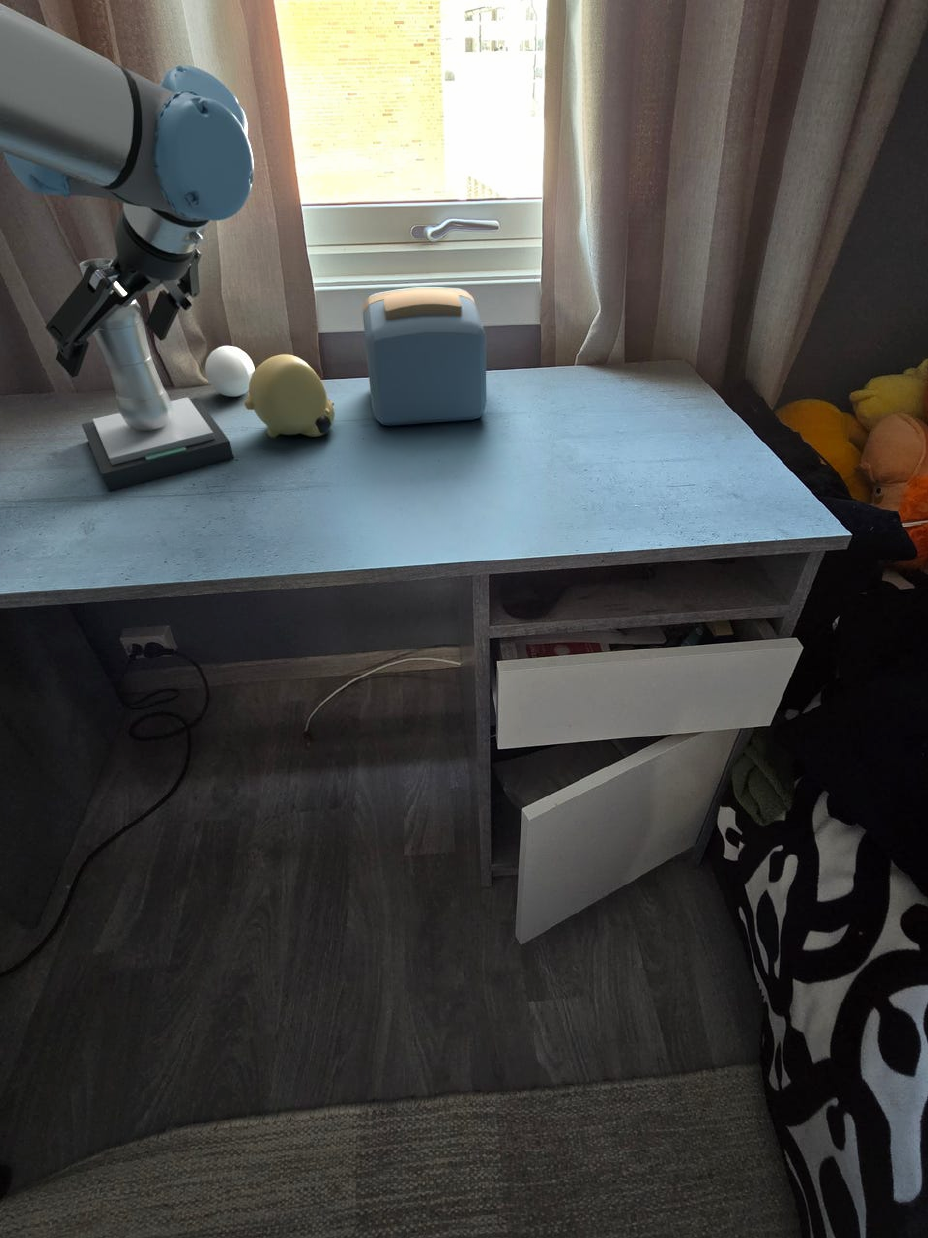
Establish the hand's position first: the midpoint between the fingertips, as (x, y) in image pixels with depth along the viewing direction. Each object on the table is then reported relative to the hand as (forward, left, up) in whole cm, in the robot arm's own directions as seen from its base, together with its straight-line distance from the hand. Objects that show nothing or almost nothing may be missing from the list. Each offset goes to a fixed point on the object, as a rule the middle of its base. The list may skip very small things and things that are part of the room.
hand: (113, 348), depth 86 cm
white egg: (+16, +11, -14) cm, 24 cm away
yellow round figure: (+19, -7, -14) cm, 24 cm away
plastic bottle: (+1, -2, -10) cm, 10 cm away
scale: (+1, -2, -13) cm, 14 cm away
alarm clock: (+39, -9, -13) cm, 42 cm away
